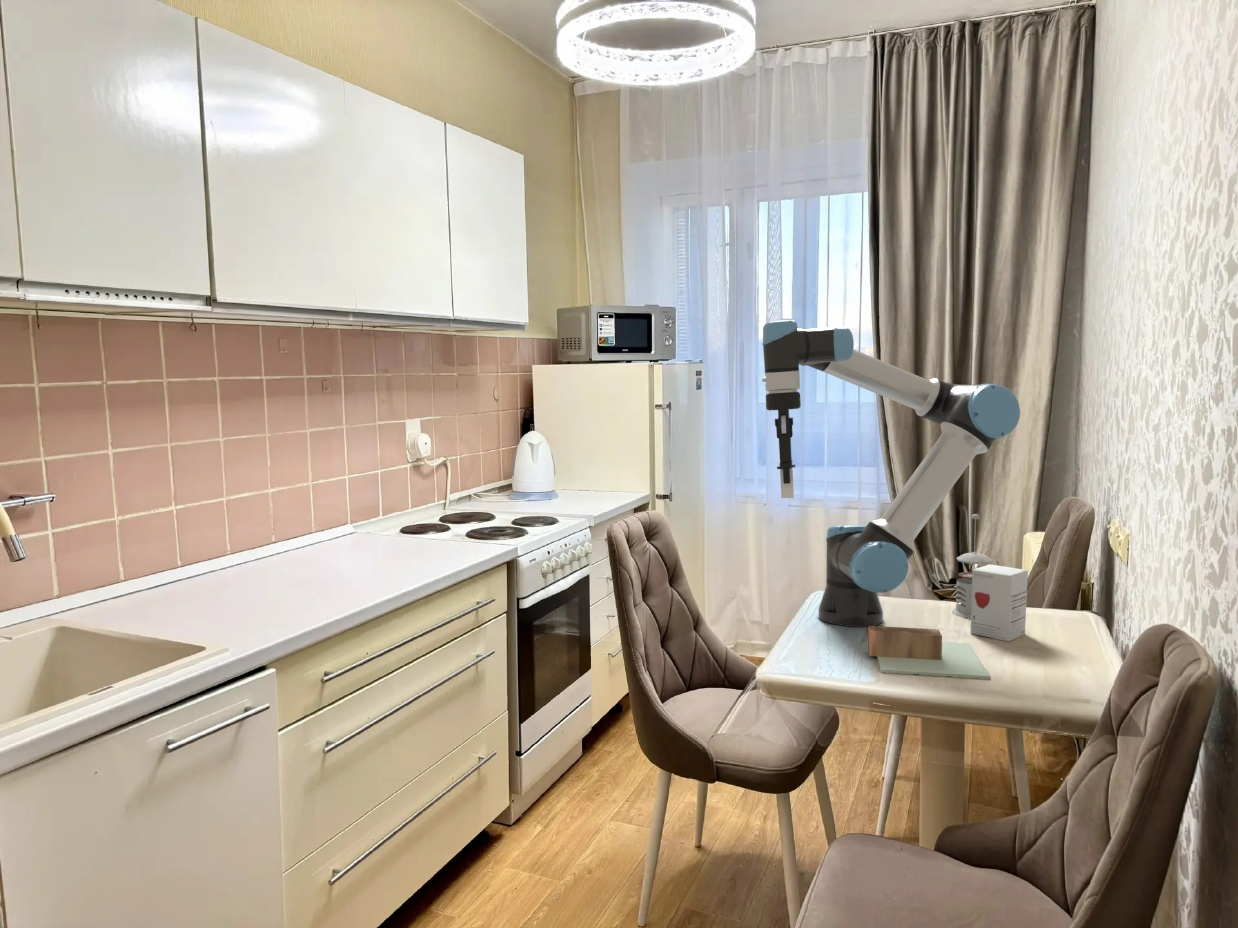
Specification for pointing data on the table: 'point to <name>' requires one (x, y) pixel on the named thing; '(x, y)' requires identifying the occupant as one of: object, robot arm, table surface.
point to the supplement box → (999, 602)
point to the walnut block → (905, 642)
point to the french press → (968, 579)
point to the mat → (940, 663)
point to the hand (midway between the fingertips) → (787, 497)
